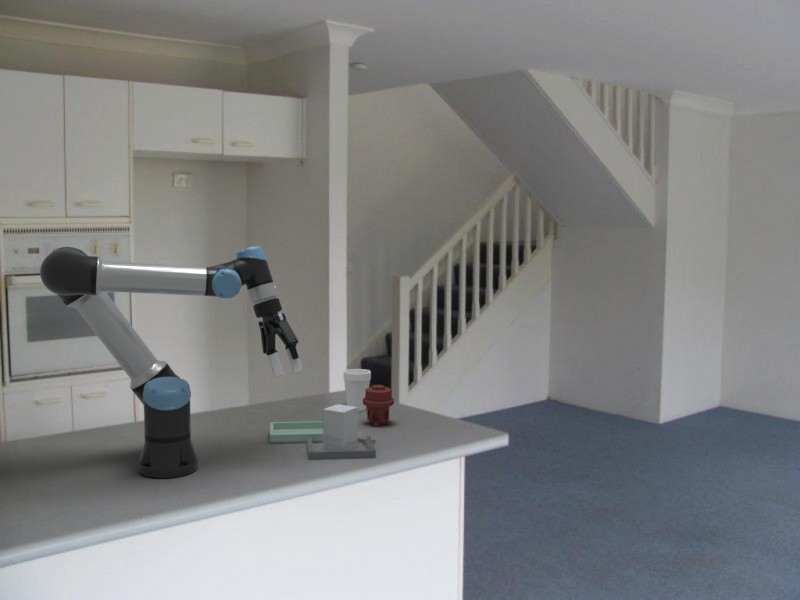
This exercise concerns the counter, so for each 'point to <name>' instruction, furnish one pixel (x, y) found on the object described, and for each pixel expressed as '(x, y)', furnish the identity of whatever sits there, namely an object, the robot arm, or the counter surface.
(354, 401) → the foam cup
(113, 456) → the counter surface
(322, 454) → the dock
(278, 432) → the tray
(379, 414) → the mechanical component
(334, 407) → the supplement box
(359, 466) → the counter surface
